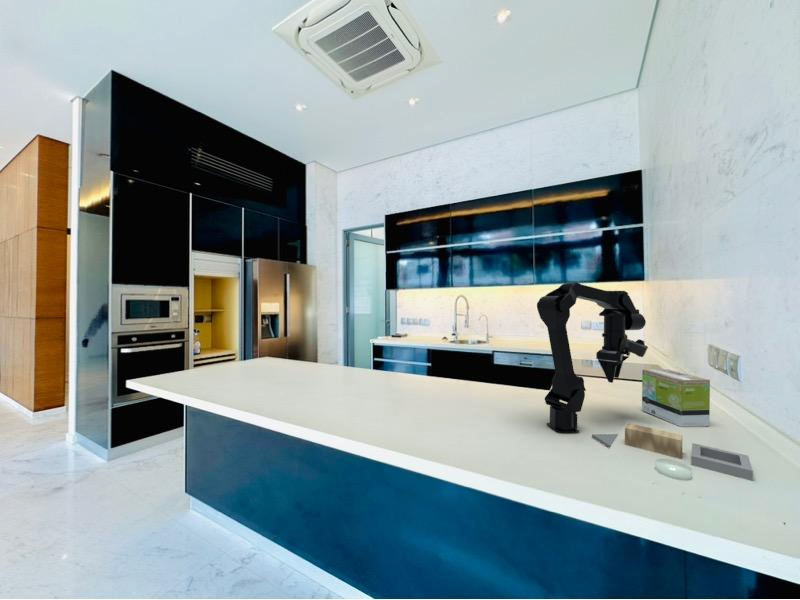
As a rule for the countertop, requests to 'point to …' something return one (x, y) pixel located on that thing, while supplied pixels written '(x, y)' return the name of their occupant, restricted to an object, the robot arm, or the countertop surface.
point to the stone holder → (722, 461)
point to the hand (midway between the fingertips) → (613, 379)
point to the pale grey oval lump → (673, 469)
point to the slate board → (605, 438)
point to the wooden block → (654, 440)
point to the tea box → (676, 397)
